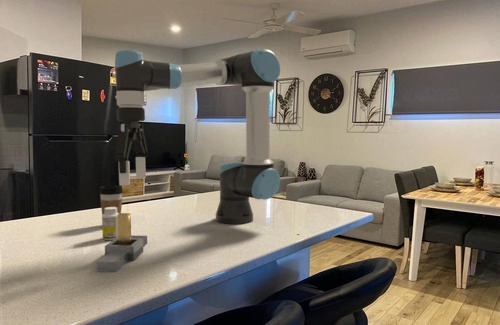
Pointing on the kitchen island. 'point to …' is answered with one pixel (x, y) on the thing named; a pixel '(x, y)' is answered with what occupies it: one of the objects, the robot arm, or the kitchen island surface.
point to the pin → (124, 228)
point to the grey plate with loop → (121, 254)
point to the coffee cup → (111, 197)
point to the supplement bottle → (110, 223)
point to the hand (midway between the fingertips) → (133, 181)
